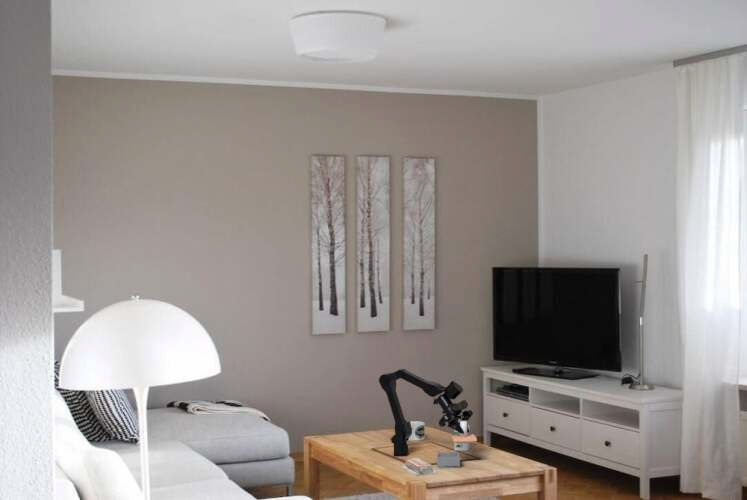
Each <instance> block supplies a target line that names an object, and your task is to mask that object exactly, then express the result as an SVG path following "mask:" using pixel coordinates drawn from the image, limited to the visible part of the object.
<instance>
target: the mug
mask: <svg viewBox="0 0 747 500" xmlns="http://www.w3.org/2000/svg"><path fill="white" fill-rule="evenodd" d="M410 423H411V427H412V429H413V430H412V434H411V436H410V437H409V440H408V441H410V442H411V441H412V442H416V441H417V442H419V441H423V440H425V437H426V436H425V435H426V432H425V431H426V423H425V422H423V421H416V420H415V421H410Z"/></svg>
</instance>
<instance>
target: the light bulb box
mask: <svg viewBox="0 0 747 500" xmlns="http://www.w3.org/2000/svg"><path fill="white" fill-rule="evenodd" d="M467 425H468V428H469V433H467V434H471V428H470V426H471V425H470V424H467ZM453 430H454V429H453ZM454 434H460V432H458V431H456V430H454V431H453V435H454ZM470 448H471V443H456V442H454V451H456V452H460V451H461V452H462V451H465V452H466V451H469V450H470Z"/></svg>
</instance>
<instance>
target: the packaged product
mask: <svg viewBox="0 0 747 500" xmlns="http://www.w3.org/2000/svg"><path fill="white" fill-rule="evenodd" d="M401 468H402V469H404V470H405V471H407V472H408V473H410V474H412V475H414V476H416V477H419V476H421V477H422V476H428V475H436V474H437V470H435V469H433V465H432V464H431V463H429V462H427V461H426V460H424V459H422V458H420V457H412V458H408V459H407V460H405V465H401Z"/></svg>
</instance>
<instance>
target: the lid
mask: <svg viewBox="0 0 747 500" xmlns="http://www.w3.org/2000/svg"><path fill="white" fill-rule="evenodd" d="M467 425H468V421H460V426H461V428H462V429H463V431H464V434H461V433H460V434H454V433H453V434H451V435H450V436H451V437H450V438H451V440H452V441H453V442H454V443H455V442H456V443H470V444H474V443H475V442H477V437H476V435H475V434H474V433H470V434H467Z"/></svg>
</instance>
